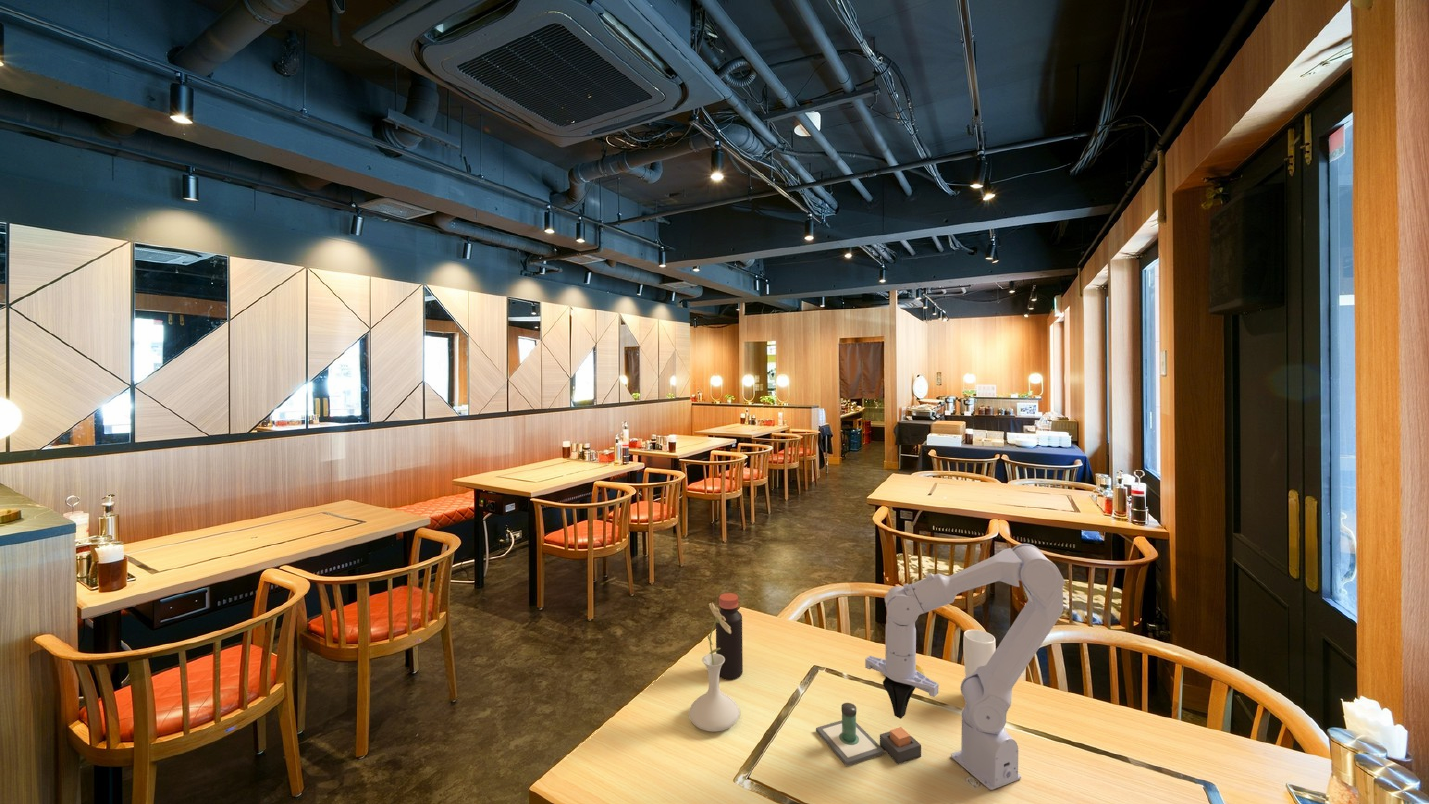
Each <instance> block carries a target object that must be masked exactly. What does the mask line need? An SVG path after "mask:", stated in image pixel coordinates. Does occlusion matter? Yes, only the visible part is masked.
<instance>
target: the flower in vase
mask: <svg viewBox="0 0 1429 804" xmlns="http://www.w3.org/2000/svg"><path fill="white" fill-rule="evenodd" d="M708 606H709V608H710V611H711V613H712V614H713V616H714V617H715V619H714V620H715V621H714V623H713V625H712V628H711V629H710V630H711V631H710V633H708V634H707V638H708V641H709V649H710V652H709V653H708V654H705V655H704V656H703V657H702V659H701V661H702V663H703V664H704V665H705V668H706V670H707V675H708V689H707V692H705V693H704V694H702V695H700V696H699V697H697V698H695V700H694V701H693V702H692V703H691V705H690V707H689V710H688V717H689V720H690V721H691V723H692V724H693V725H694V726H695V727H696V728H698V729H700V730H702V731H706V732H722V731H725V730H728V729H730V728H731V727H733V726H734V725H735V724H736V723H737V721H739V719H740V715H741V711H740V707H739V705H738V703H736V701H735V700H734V699H733V698H731V697H730V696H729V695H727V694H725V693H724V692H722V691H721V689H720V677H719V673H720V669H721V666H722V664H723V663H724V662H725V658H724V657H723V656H722V655H720V654H716V651H717V650H719V649H720V648H717V649H716V648H714V649H713V647H712V646H713V641H712V634H713V631H714V628H716V622H717V623H720V624H721V626H722V627H723V628H724V629H725V630H726V631H727V632H728V633H729V634H731V630H730V629H731V628H730V626H729V625H728V624H727V623H726V622H725V621H726V619H725V617H724V616H721V614H720V612H719V611H720V608H718V606H716V605H715V604H714V602H710V603H708Z"/></svg>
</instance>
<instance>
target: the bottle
mask: <svg viewBox="0 0 1429 804" xmlns="http://www.w3.org/2000/svg"><path fill="white" fill-rule="evenodd" d="M718 601H719V604H718V605H719V612H720V614H721V616H724V617H725V619H726V621H725V622H726V623H727V624H728V625H729V626H730V628H731V629H730V630H731V634H729V633H728V632H727V631H726V630H725V629H724V628H723V627H722V626H721V624H720V623H717V622H716V624H715V649H717V648H720V649H719V650H717V651H716V652H715V654H720V655H722V656H723V657H724V658H725V662H724V663H723V664H722V666H721V669H720V673H719V679H720V678H721V679H722V680H725V679H726V680H725V681H733V679H734V680H737V679H739V678H740V677H741V676H742V675H743V670H744V669H743V668H744V667H743V662H744V660H743V657H744V656H743V615H742V614H741V612H740V611H739V610H738V609H739V596H738V595H737V594H736V593H733V592H732V593H731V592H725V593H722V594H720V595H719V597H718Z"/></svg>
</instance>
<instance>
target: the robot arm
mask: <svg viewBox="0 0 1429 804" xmlns="http://www.w3.org/2000/svg"><path fill="white" fill-rule="evenodd" d="M996 582H1002V583H1004V584H1007V585H1010V586H1013V587H1016V588H1017V587H1018V588H1020V582H1021V583H1022V587H1023V590H1024V592H1025V594H1026V597H1027V601H1026V603H1025V604H1024V606H1023V607H1022V609H1021V610H1020V612H1019V614H1018V615H1017V617H1016V618H1015V620H1014V621H1013V623H1012V625H1011V627H1010V628H1009V629H1008V631H1007V632H1006V634H1005V635H1004V637H1003V639H1002V640H1001V641H1000V643H999V644H998V646H997V648H996V651H995V652H994V654H993V655H992V657H991V658H990V660H989V661H988V663H987V664H986V665H985V666H980V667H978V668H977V669H976V671H975V672H974V673H973V674H971V675H969V676H967V677H964V678H963V679H962V681H961V684H960V693H961V695H962V697H963V698H964V702H965V705H964V707H963V709H962V711H961V744H960V745H961V747H960V748H961V750H958V751H955V752H953V753H951V754H950V757H951V758H952V759H953V760H954V761H955V762H957V764H959V765H960V766H961V767H962V768H964V769H965V770H966V771H967V772H968V773H970V774H971V776H973V777H974V778H975V779H976V780H977V781H979V783H981V784H983V785H984V786H985V787H986V788H987V789H988V790H990V791H994V790H996V789H998V788H1001V787H1003V786H1006V785H1008V784H1011V783H1013V782H1016V781H1019V780H1021V779H1022V775H1021V774H1020V773H1019V745H1018V743H1017V741H1016V740H1015V739H1014V738H1013V737H1012V736H1011V735H1010V734H1009V733H1008V731H1007V730H1006V727H1005V726H1006V723H1007V715H1008V714H1007V713H1008V711H1009V709H1010V708H1011V706H1012V693H1013V687H1014V686H1015V684H1016V683H1017V682H1018V681H1019V679H1020V677H1021V675H1022V674H1023V673H1024V671H1025V670H1026V668H1027V667H1028V666H1029V664H1030V662H1031V661H1032V659H1033V658H1034V656H1035V655H1036V654H1037V652H1038V650H1039V649H1040V647H1041V646H1042V644H1043V643H1044V641H1045V640H1046V638H1047V637H1048V635H1049V634H1050V632H1051V631H1052V629H1053V628H1054V626H1055V624H1056V623H1057V622H1058V620H1059V619H1060V617H1061V616H1062V615H1063V612H1064V588H1063V587H1064V586H1065V584H1066V581H1065V579H1064V577H1063V575H1062V574H1061V572H1060V570H1059V568H1058V567H1057V565H1056V564H1055V563H1054V562H1053V561H1051V560H1050V559H1048V558H1047V557H1046V556H1045V554H1044V553H1043V552H1042V551H1041V550H1040V549H1039V548H1038V547H1037V546H1035V545H1033V544H1030V543H1020V544H1017V545H1015V546H1013V547H1012V548H1011V547H1008V548H1005V549H1002V550H1001V551H999V552H998V553H996V554H994V555H993V556H991V557H988V558H986V559H983V560H982V561H979V562H977V563H974V564H973V565H970V566H968V567H966V568H964V569H962V570H960V571H957V572H955V573H953V574H951V575H945V574H942V573H939V572H938V573H936V574H933V573H932V572H929V573H927V574H925V578H923V579H920V580H918V581H914V582H913V583H910V584H908V582H907V583H904V584H903V585H902V586H900V585H898V586H897V585H896V586H893V587H891V588H889V589H888V590H887V591H888V592H886V594H885V596H884V603H885V607H886V616H885V617H886V619H885V620H886V624H885V659H884V658H879V657H875V656H872V655H869V656H868V657H866V658H865V659H864V660H865V662H864V664H865V665H864V667H865V669H867V670H871V669H872V670H874V671H876V672H879V673H880V674H882V675H884V676H885V678H884V680H883V681H882V685H883V687H884V689H885V691H886V692H887V694H888V697H889V699H890V703H891V707H892V709H893V714H894V716H895V717H896V718H898V719H903V718H904V717H905V716H906V713H907V708H908V705H909V701H910V699H911V697H912V695H913V693H914V692H915V690H916V689H919V690H921V691H923V692H925V693H928V696H930V697H933V698H935V697H936V696H937V695H938V694H939V685H940V684H939V683H938V682H937V681H933V680H932V679H930V678H929V677H928V676H925V674H924V675H923V674H921V673H920V672H918V671H917V670H916V665H917V664H916V663H917V662H916V660H917V659H916V658H917V657H916V655H917V653H916V651H917V650H916V649H917V646H916V645H917V629H916V622H917V620H918V618H919V616H920V615H923V614H926V613H928V612H931V611H934V610H937V609H939V608H942V607H944V606H947V605H950V604H953V603H954V602H955V599H956V597H957V594H959V593H964V592H968V591H970V590H974V589H976V588H979V587H983V586H986V585H990V584H992V583H996Z"/></svg>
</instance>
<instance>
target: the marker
mask: <svg viewBox="0 0 1429 804" xmlns="http://www.w3.org/2000/svg"><path fill="white" fill-rule="evenodd" d="M841 720H842V739H843V740H844V741H846V742H854V741H855V740H856V723H857V706H856V704H854V703H851V702H844V703H842V704H841Z"/></svg>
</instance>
